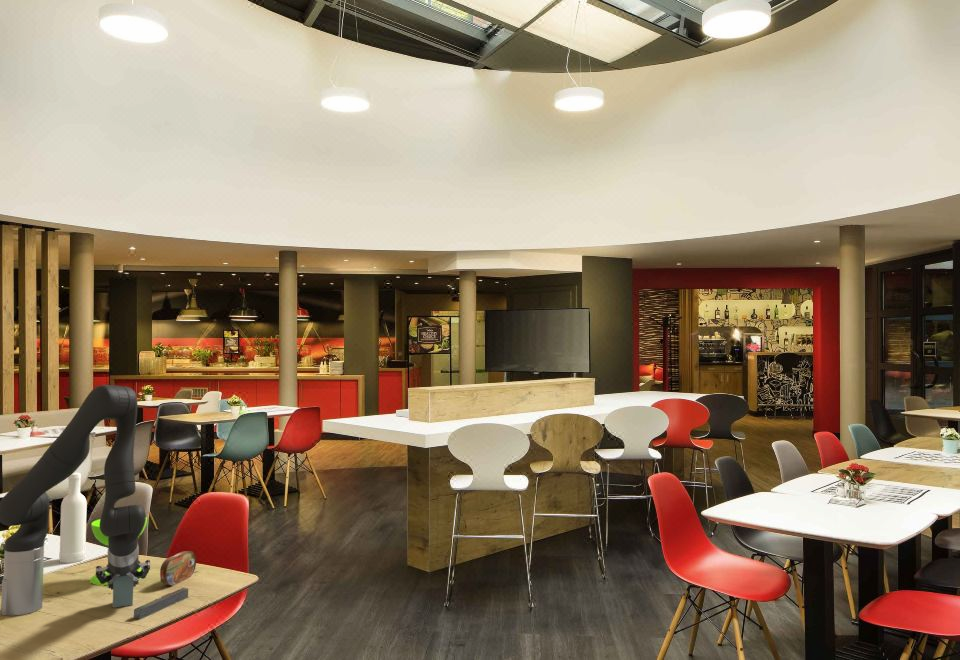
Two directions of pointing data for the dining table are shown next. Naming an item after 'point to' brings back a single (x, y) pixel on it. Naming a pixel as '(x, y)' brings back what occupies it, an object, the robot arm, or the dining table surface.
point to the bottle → (73, 523)
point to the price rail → (160, 603)
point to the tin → (178, 568)
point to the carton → (123, 591)
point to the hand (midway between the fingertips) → (123, 585)
